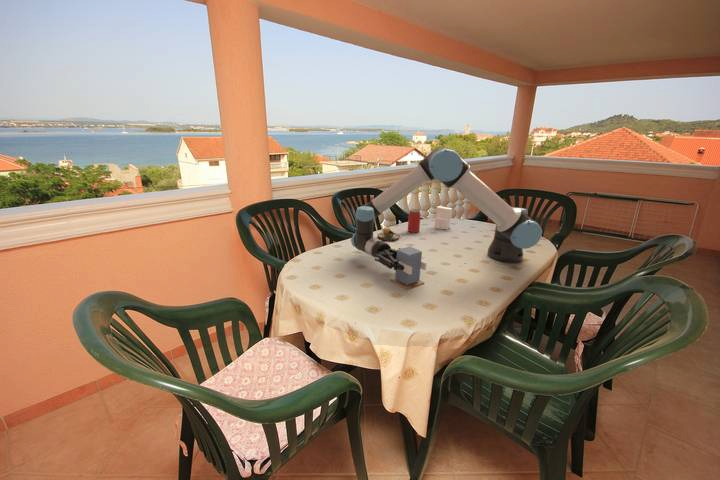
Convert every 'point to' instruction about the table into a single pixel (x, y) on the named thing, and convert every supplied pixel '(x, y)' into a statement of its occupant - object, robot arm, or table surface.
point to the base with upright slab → (443, 217)
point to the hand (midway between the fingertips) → (418, 268)
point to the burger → (388, 235)
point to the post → (407, 285)
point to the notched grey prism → (411, 259)
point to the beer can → (414, 221)
